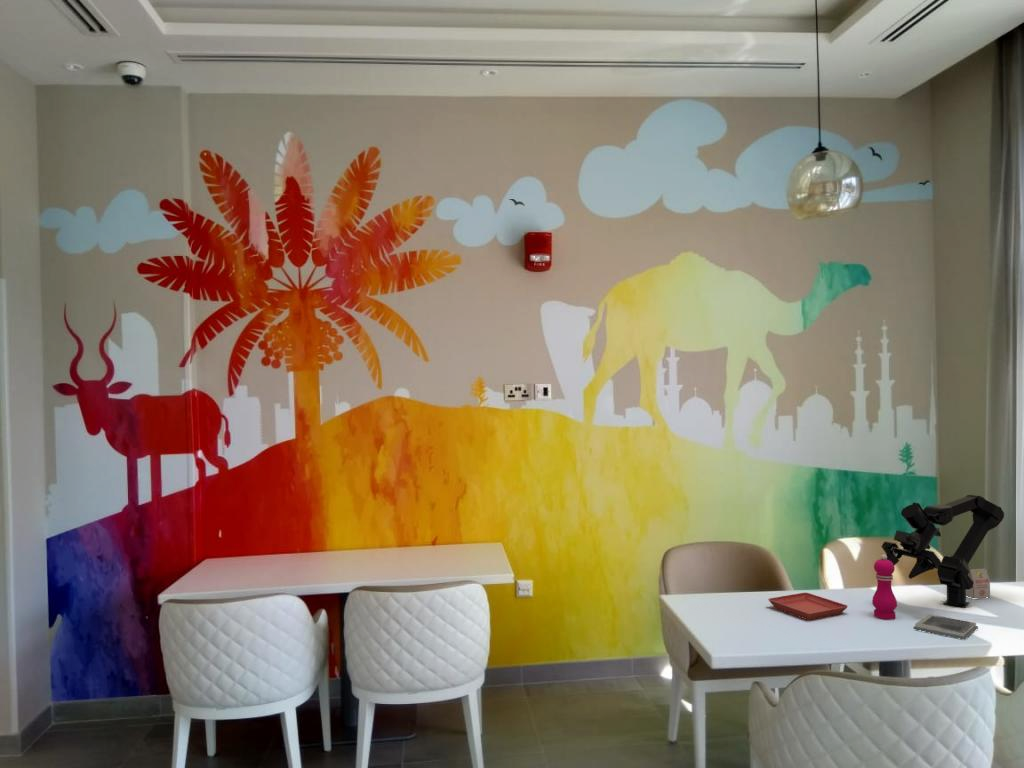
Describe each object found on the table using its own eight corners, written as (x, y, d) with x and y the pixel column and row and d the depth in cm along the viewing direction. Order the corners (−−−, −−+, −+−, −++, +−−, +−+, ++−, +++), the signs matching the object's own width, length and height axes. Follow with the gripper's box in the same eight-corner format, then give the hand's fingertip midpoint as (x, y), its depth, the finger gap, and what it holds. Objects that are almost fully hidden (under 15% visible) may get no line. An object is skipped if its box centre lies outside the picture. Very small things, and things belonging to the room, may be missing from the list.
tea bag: (965, 596, 271) (964, 568, 271) (981, 595, 272) (981, 567, 272) (973, 599, 268) (972, 570, 268) (990, 598, 269) (989, 569, 269)
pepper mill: (900, 620, 245) (899, 557, 245) (875, 619, 247) (874, 556, 247) (893, 613, 252) (892, 552, 252) (869, 612, 254) (869, 551, 254)
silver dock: (927, 619, 246) (927, 613, 246) (977, 628, 237) (977, 622, 237) (913, 629, 236) (913, 623, 236) (965, 640, 226) (965, 633, 226)
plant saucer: (849, 615, 253) (849, 605, 253) (808, 623, 245) (808, 612, 245) (805, 601, 269) (805, 591, 269) (766, 608, 261) (766, 598, 261)
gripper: (885, 517, 263) (860, 553, 258) (934, 526, 245) (909, 564, 241) (902, 538, 266) (878, 574, 261) (951, 549, 248) (927, 587, 244)
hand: (897, 574), depth 252 cm, fingers open, 9 cm apart
